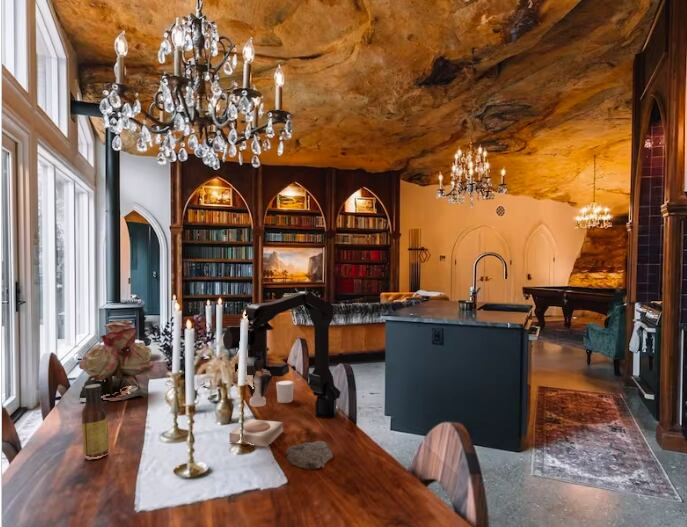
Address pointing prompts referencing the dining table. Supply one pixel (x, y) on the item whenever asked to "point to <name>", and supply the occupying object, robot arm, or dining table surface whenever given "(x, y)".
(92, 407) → the sauce bottle
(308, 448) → the stone slab
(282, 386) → the shot glass
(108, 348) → the rose bouquet
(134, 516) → the dining table surface
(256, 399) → the chess pawn
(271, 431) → the plinth
